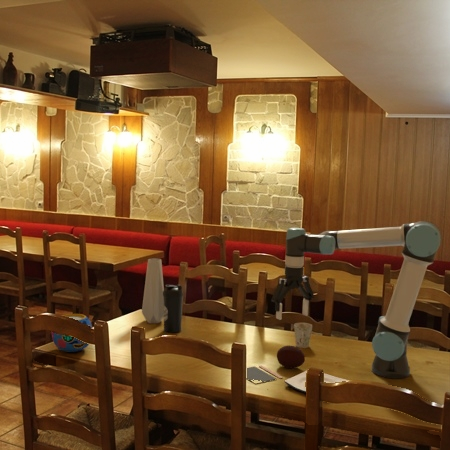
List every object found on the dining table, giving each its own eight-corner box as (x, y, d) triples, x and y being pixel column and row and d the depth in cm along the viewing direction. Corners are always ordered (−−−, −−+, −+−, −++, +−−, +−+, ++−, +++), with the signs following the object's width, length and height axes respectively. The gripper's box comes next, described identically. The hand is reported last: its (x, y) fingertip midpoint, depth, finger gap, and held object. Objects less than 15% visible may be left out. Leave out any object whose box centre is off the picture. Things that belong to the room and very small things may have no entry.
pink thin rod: (282, 378, 223) (282, 377, 223) (280, 378, 223) (280, 378, 223) (261, 366, 236) (261, 365, 236) (258, 366, 235) (258, 365, 235)
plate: (355, 387, 217) (355, 381, 216) (326, 403, 202) (327, 396, 201) (310, 373, 230) (310, 367, 230) (280, 387, 215) (280, 380, 215)
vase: (156, 317, 306) (157, 256, 302) (169, 322, 297) (170, 259, 293) (137, 320, 298) (137, 258, 294) (149, 325, 289) (150, 262, 285)
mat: (276, 379, 222) (276, 378, 222) (255, 384, 217) (255, 383, 216) (254, 367, 234) (254, 366, 234) (234, 371, 229) (234, 370, 229)
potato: (279, 362, 242) (280, 340, 240) (307, 366, 237) (308, 345, 236) (273, 368, 234) (273, 346, 233) (301, 373, 229) (302, 351, 228)
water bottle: (160, 328, 285) (161, 283, 283) (180, 327, 288) (181, 282, 286) (164, 334, 276) (165, 287, 273) (184, 332, 279) (185, 286, 276)
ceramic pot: (60, 360, 237) (60, 325, 235) (46, 348, 251) (45, 315, 250) (99, 352, 247) (99, 319, 246) (83, 341, 262) (83, 309, 260)
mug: (311, 343, 267) (311, 323, 266) (312, 352, 255) (313, 330, 254) (293, 342, 268) (294, 322, 267) (293, 351, 256) (294, 329, 254)
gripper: (312, 262, 240) (309, 311, 243) (263, 266, 227) (261, 318, 230) (324, 265, 234) (321, 315, 236) (274, 269, 221) (272, 323, 223)
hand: (292, 317), depth 233 cm, fingers open, 13 cm apart
